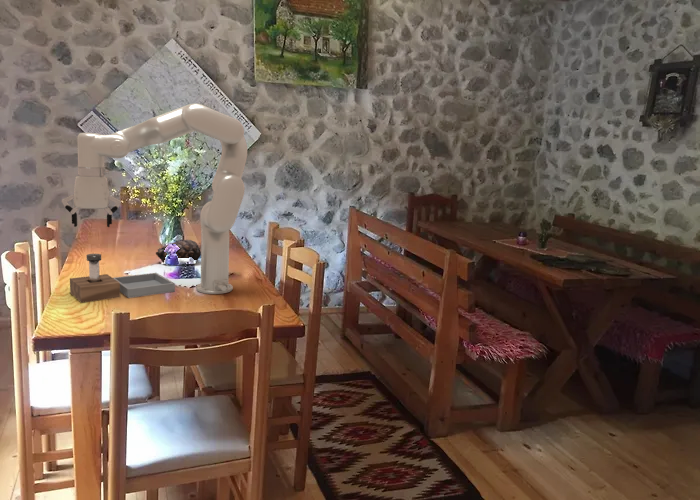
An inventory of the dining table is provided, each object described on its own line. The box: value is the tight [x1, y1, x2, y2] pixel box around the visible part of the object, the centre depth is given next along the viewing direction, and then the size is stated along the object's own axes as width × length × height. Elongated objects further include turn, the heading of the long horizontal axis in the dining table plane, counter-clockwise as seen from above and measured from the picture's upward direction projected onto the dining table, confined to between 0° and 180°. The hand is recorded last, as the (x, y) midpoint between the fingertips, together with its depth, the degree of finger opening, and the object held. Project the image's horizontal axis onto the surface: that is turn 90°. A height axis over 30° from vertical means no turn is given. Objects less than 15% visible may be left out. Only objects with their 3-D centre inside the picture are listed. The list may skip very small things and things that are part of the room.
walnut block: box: [69, 273, 121, 304], centre depth 192 cm, size 12×12×5 cm
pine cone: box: [155, 239, 201, 262], centre depth 239 cm, size 10×18×10 cm, turn 113°
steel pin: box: [85, 253, 102, 283], centre depth 191 cm, size 4×4×14 cm
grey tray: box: [112, 272, 176, 299], centre depth 202 cm, size 16×16×3 cm
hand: (92, 226), depth 187 cm, fingers open, 9 cm apart
